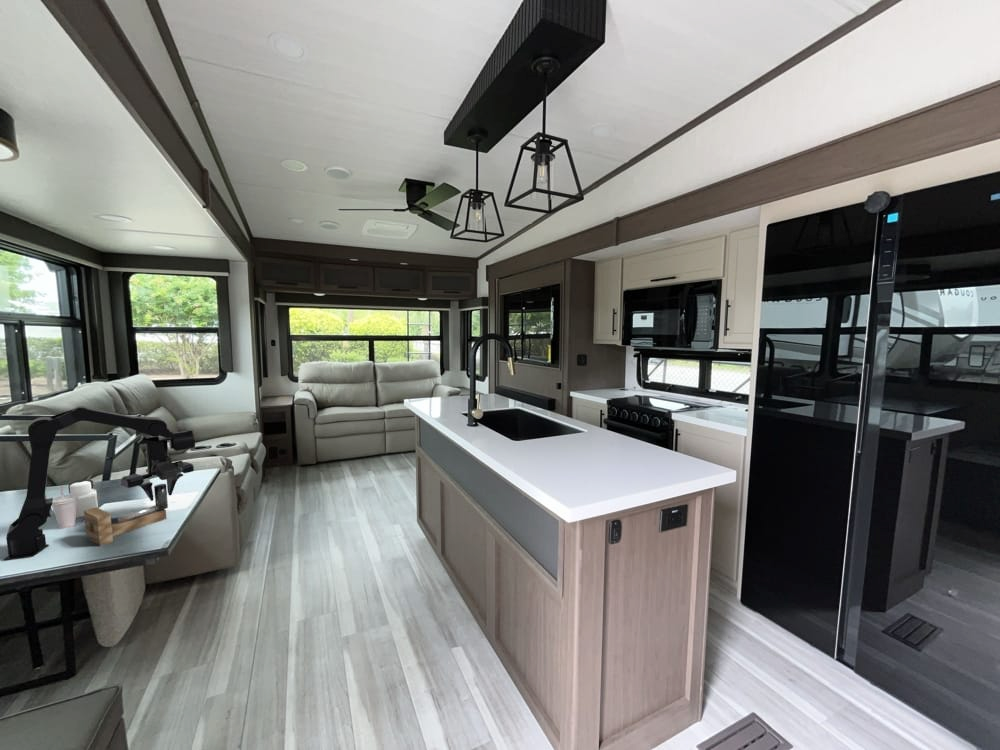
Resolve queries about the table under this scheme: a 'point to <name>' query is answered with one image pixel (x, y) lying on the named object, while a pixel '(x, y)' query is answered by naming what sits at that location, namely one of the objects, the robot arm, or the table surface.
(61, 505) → the smoothie
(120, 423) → the robot arm
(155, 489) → the door handle
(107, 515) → the wooden mallet
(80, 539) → the table surface
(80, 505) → the medicine bottle
